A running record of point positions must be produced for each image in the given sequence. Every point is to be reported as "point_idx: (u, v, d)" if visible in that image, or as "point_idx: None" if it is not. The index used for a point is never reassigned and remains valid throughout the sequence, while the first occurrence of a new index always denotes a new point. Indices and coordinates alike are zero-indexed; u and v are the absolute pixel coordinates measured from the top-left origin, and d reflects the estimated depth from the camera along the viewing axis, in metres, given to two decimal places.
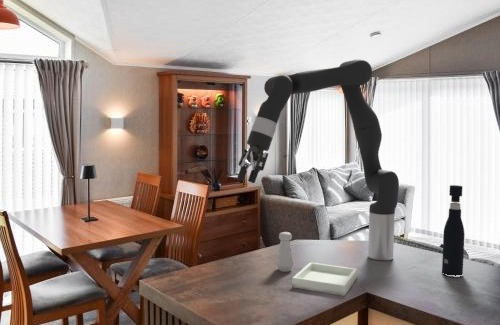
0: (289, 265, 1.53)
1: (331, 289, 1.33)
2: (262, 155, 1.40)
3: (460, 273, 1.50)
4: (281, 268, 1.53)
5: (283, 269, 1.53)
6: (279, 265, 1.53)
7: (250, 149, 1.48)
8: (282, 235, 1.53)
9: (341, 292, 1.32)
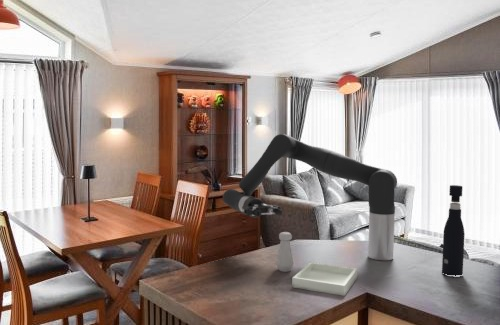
0: (289, 265, 1.53)
1: (331, 289, 1.33)
2: (242, 212, 1.69)
3: (460, 273, 1.50)
4: (281, 268, 1.53)
5: (283, 269, 1.53)
6: (279, 265, 1.53)
7: None
8: (282, 235, 1.53)
9: (341, 292, 1.32)
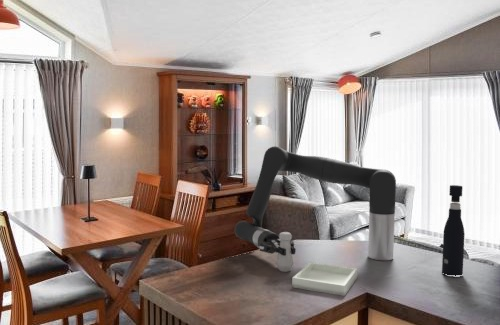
0: (289, 265, 1.53)
1: (331, 289, 1.33)
2: (262, 249, 1.57)
3: (460, 273, 1.50)
4: (281, 268, 1.53)
5: (283, 269, 1.53)
6: (279, 265, 1.53)
7: None
8: (282, 235, 1.53)
9: (341, 292, 1.32)
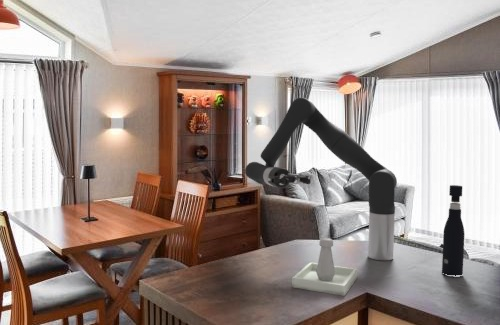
0: (331, 274, 1.40)
1: (331, 289, 1.33)
2: (269, 181, 1.62)
3: (460, 273, 1.50)
4: (322, 277, 1.41)
5: (324, 278, 1.41)
6: (320, 274, 1.41)
7: None
8: (323, 241, 1.40)
9: (341, 292, 1.32)
